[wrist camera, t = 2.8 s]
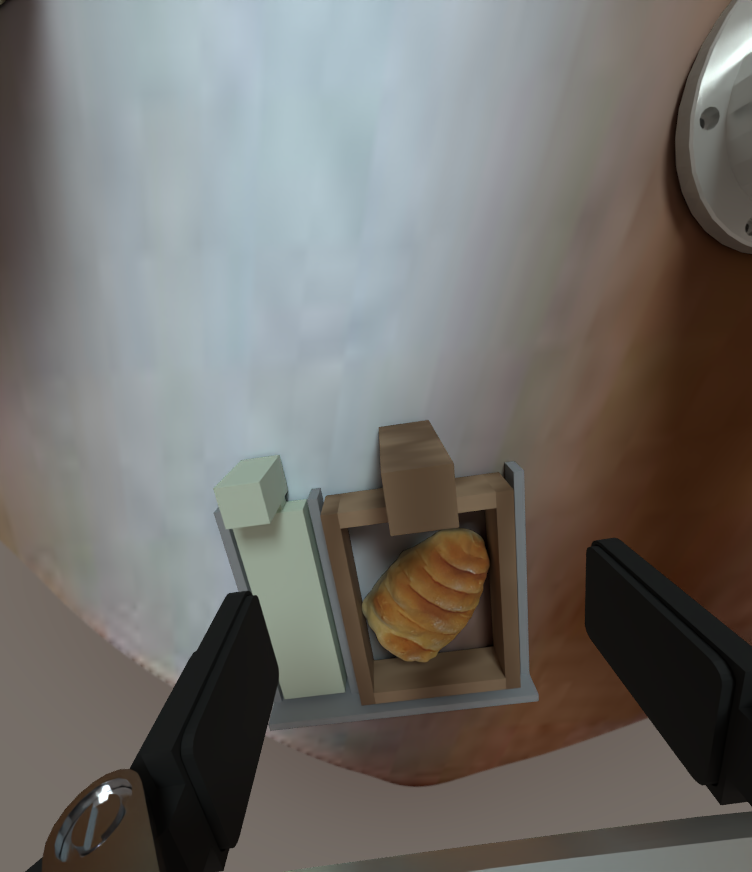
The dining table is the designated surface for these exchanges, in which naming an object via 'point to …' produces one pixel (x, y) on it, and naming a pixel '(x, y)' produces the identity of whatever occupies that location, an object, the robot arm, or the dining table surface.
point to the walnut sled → (419, 512)
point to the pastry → (428, 594)
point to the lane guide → (349, 703)
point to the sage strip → (284, 575)
